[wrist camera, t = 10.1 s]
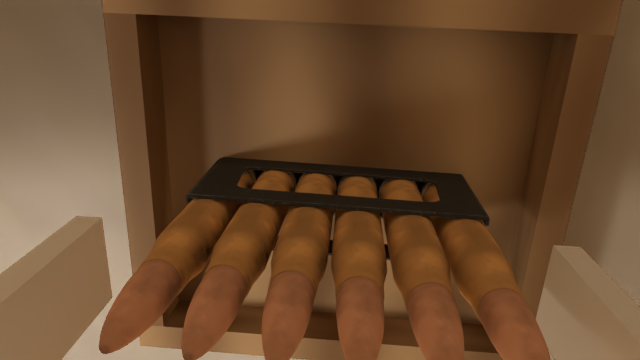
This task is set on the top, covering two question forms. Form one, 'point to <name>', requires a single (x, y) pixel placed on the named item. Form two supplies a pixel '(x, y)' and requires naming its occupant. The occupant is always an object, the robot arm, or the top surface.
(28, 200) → the top surface
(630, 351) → the robot arm
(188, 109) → the tray
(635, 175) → the top surface
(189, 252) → the ammunition clip
